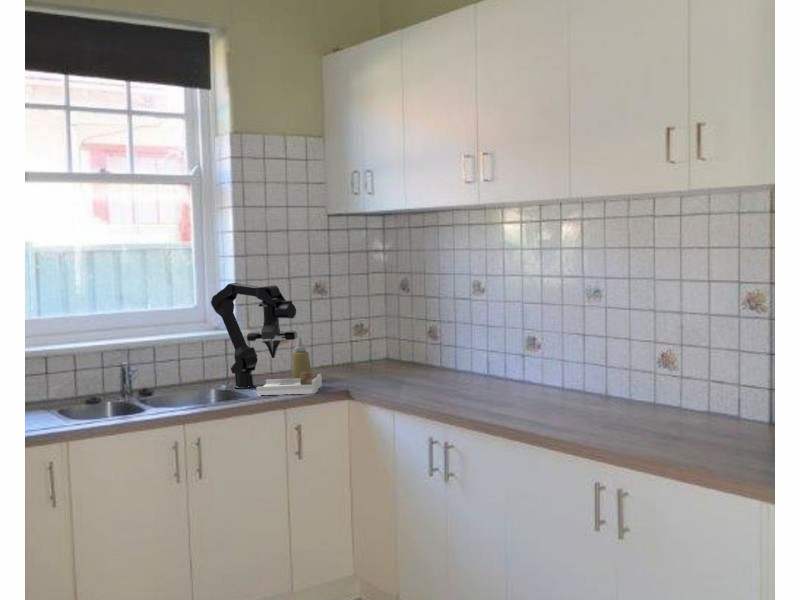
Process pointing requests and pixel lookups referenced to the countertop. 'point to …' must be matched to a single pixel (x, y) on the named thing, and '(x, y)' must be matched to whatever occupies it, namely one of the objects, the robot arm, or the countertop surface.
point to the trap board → (289, 386)
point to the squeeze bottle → (300, 360)
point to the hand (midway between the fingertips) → (273, 357)
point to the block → (307, 377)
